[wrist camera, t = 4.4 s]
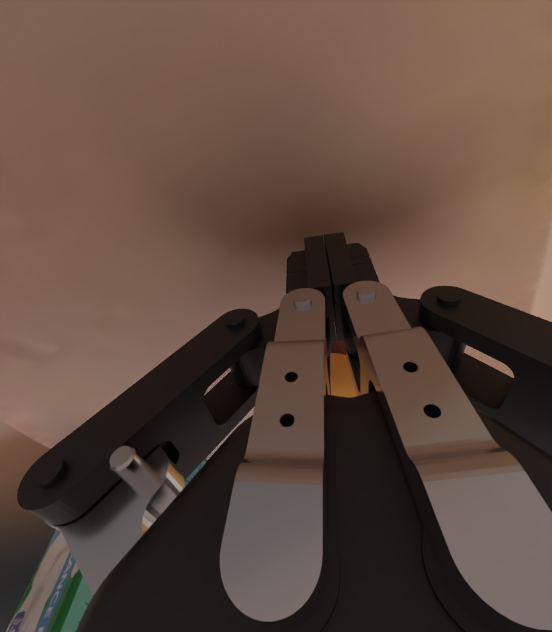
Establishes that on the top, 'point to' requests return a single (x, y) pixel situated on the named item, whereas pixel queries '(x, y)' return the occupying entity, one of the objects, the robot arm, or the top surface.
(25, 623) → the milk carton
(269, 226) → the top surface
